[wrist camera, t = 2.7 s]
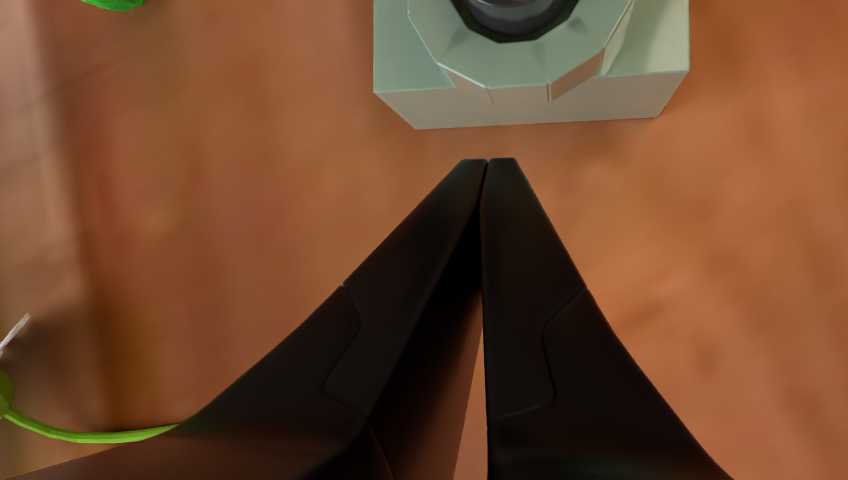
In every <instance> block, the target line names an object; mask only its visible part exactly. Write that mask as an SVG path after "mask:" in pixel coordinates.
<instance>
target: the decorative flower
mask: <svg viewBox="0 0 848 480" xmlns="http://www.w3.org/2000/svg"><path fill="white" fill-rule="evenodd" d="M29 314H30V313H29V312H28V313H27V314H26V315H25V316H24V317H23V318H22V319H21V320H20V321H19V322H18V323H17V324H16V326H15V327H14V328H13V329H12V330H11V331H10V333H9V334H8V335H7V336H6V337H5V339H4V340H3V341H2V342H1V344H0V357H1V355H2V353H3V351H2V350H3V349H4V347H5V346H6V345H7V344H8V343H9V341H10V340H11V339H12V338H13V337H14V336H15V335H16V334H17V333H18V332H19V331H20V330H21V328H22V327H23V326H24V325H25V324H24V323H25V322H26V321H27V320H28V319H29V318H30V317H31V315H29ZM13 399H14V398H13V384H12V382H11V381H10V379H9V377H8V376H7V374H6V373H5V372H3V371H1V370H0V419H1V418H2V417H5V418H7V419H9V420H10V421H12V422H14V423H16V424H18V425H20V426H22V427H24V428H27V429H29V430H32V431H35V432H37V433H40V434H43V435H45V436H48V437H51V438H56V439H61V440H67V441H72V442H77V443H122V442H132V441H140V440H143V439H147V438H150V437H153V436H155V435H158V434H160V433H163V432H165V431H167V430H170V429H172V428H173V427H175V426H177V425H179V424H176V425H169V426H163V427H157V428H150V429H143V430H134V431H125V432H116V433H92V432H75V431H70V430H65V429H60V428H55V427H52V426H50V425H47V424H44V423H42V422H39V421H37V420H34V419H32V418H29V417H27V416H25V415H23V414H22V413H20V412H18V411H16V410H15V409H13V408H11V407H10V406H11V404H12V401H13Z"/></svg>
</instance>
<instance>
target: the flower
mask: <svg viewBox="0 0 848 480" xmlns="http://www.w3.org/2000/svg"><path fill="white" fill-rule="evenodd" d="M81 1H84V2H87V3H89V4H92V5H95V6H96V7H100V8H104V9H108V10H113V11H118V12H122V11H129V10H131V9H133V8H134V7H136V6H138V5H140V6H141V5H143V3H144V0H81Z"/></svg>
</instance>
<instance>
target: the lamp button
mask: <svg viewBox="0 0 848 480" xmlns="http://www.w3.org/2000/svg"><path fill="white" fill-rule="evenodd" d="M463 1H464V3H465V6H466V8H467V10H468V12H469V13H470V15H471V16H472V18H473V19H474V20H475V21H476V22H477V23H478V24H479V25H481V26H482V27H483V28H485V29H487V30H489V31H491V32H493V33H496V34H500V35H506V36H520V35H526V34H530V33H533V32H536V31H538V30H540V29H542V28H544V27H546V26H547V25H549V24H550V23H551V22H553V21H554V20H555V19H556V18H557V17H558V16H559V15H560V14H561V13H562V12H563V10H564V9H565V8H566V6H567V5H568V3H569V1H570V0H463Z"/></svg>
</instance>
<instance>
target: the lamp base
mask: <svg viewBox="0 0 848 480" xmlns="http://www.w3.org/2000/svg"><path fill="white" fill-rule="evenodd" d="M689 72H690V4H689V0H570V1H569V3H568V5H567V6H566V8H565V9H564V10H563V12H562V13H561V14H560V15H559V16H558V17H557V18H556V19H555V20H554V21H553V22H551V23H550V24H549V25H547V26H546V27H544V28H542V29H540V30H538V31H536V32H533V33H530V34H526V35H520V36H506V35H500V34H496V33H493V32H491V31H489V30H487V29H485V28H483V27H482V26H481V25H479V24H478V23H477V22H476V21H475V20H474V19H473V18H472V16H471V15H470V13H469V12H468V10H467V8H466V6H465V3H464V1H463V0H374V26H373V92H374V94H376V95H377V96H378V97H379V98H380V99H381V100H382V101H383V102H385V103H386V104H387V105H388V106H389V107H390V108H391V109H392V110H393V111H395V112H396V113H397V114H398V115H399V116H400V117H401V118H402V119H404V120H405V121H406V122H407V123H408V124H409V125H410V126H411V127H413V128H414V129H415V130H422V129H441V128H461V127H480V126H500V125H519V124H539V123H558V122H578V121H597V120H616V119H636V118H655V117H659V116H660V114H661V113H662V111H663V110H664V108H665V107H666V105H667V104H668V102H669V101H670V99H671V98H672V97H673V95H674V94H675V92H676V91H677V89H678V88H679V86H680V85H681V83H682V82H683V80H684V79H685V77H686V76H687V75H688V73H689Z"/></svg>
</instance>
